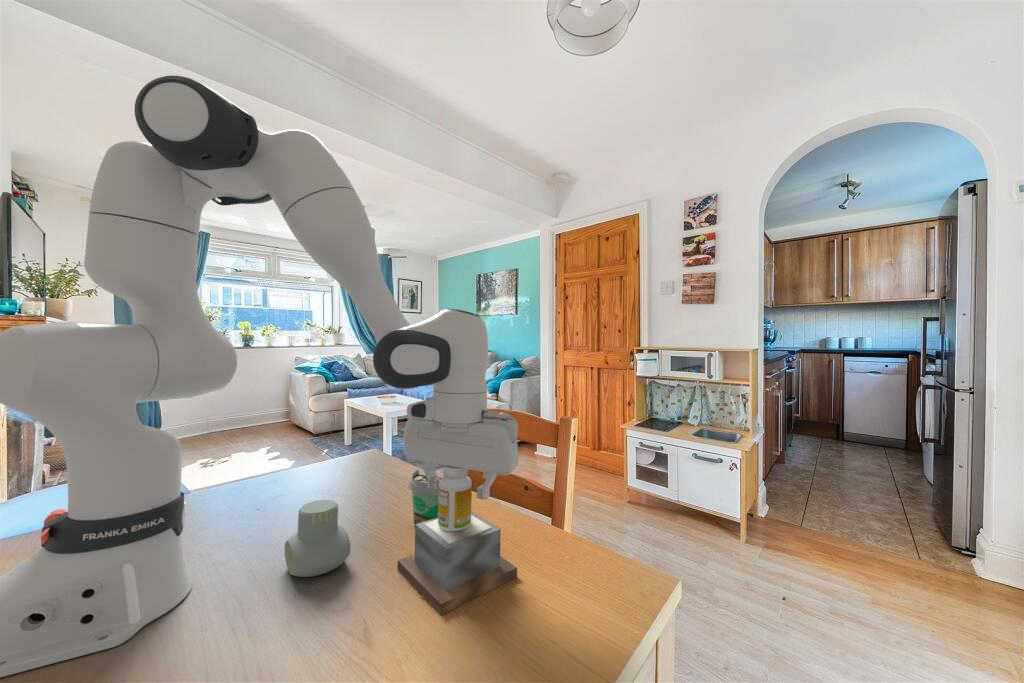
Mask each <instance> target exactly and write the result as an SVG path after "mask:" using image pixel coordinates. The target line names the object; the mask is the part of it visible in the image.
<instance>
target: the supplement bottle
mask: <svg viewBox="0 0 1024 683" xmlns="http://www.w3.org/2000/svg"><path fill="white" fill-rule="evenodd" d="M442 471H443V475H444V476H443V477H441V478H442V479H441V480H440V482H439V500H438V526H439V527H440V528H441V529H442V530H444V531H449V532H456V531H461V530H464V529H466V528H468V527H469V526H470V524H471V512H472V494H473V492H472V491H473V487H472V486H473V484H472V479H471V478H470V477H469V476H468V474H469V469H464V468H458V467H453V466H447V465H443V470H442Z"/></svg>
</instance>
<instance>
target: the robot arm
mask: <svg viewBox="0 0 1024 683" xmlns="http://www.w3.org/2000/svg"><path fill="white" fill-rule="evenodd" d="M134 118H135V121H136V124H137V126H138V128H139V130H140V131H141V133H142V134H141V135H143V136H144V138H145V139H146V141H147V142H143V141H135V140H134V141H133V140H131V141H121V142H120V141H119V142H117V143H115V144H113V145H111V146H110V147H109V148H108V149H107V150H106V152H105V154H104V157H103V158H102V161H101V163H100V166H99V168H98V171H97V173H96V177H95V181H94V184H93V188H92V193H91V198H90V205H89V211H88V213H89V214H88V221H87V222H88V223H87V232H86V241H85V249H84V250H85V251H84V253H85V254H84V262H83V267H84V269H85V273H86V274H87V275H88V277H89V278H90V279H91V281H93V282H94V284H96V286H98V287H99V288H101V289H103V290H104V291H106V292H108V293H109V294H112V295H114V296H116V297H118V298H120V299H122V300H124V301H125V302H126V303H127V304H128V306H130V309H131V311H132V314H133V318H134V321H133V322H134V323H133V324H120V323H118V324H117V323H102V322H101V323H99V322H85V321H84V322H81V321H62V322H46V323H35V324H25V325H24V324H23V325H17V326H11V327H9V328H7V329H5V330H3V331H1V332H0V404H1V405H4V406H5V407H7V408H9V409H12V410H15V411H17V412H19V413H22V414H24V415H26V416H28V417H30V418H32V419H34V420H35V421H37V422H38V423H39V424H41V425H42V426H44V427H45V428H46V429H47V430H48V431H49V432H50V433H51V434H52V435H53V437H54V438H55V439H56V440H57V442H58V443H59V445H60V447H61V450H62V451H63V455H64V458H65V463H66V464H65V465H66V473H67V474H66V475H67V509H64V508H58V509H55V510H53V511H52V512H50V513H49V514H48V515H47V517H46V518H45V519H44V521H43V527H42V528H41V535H40V537H41V538H40V544H41V548H40V549H39V550H38V551H36V552H35V553H33V554H32V555H30V556H28V557H27V558H25V559H24V560H23V561H21V562H20V563H19V564H17V565H16V566H14V567H13V568H10V569H9V570H8V571H7V572H6V573H4V574H3V575H1V576H0V678H3V677H8V676H11V675H13V674H19V673H22V672H26V671H29V670H33V669H36V668H41V667H44V666H47V665H52V664H55V663H58V662H59V663H60V662H63V661H67V660H70V659H75V658H78V657H81V656H86V655H89V654H92V653H97V652H100V651H103V650H108V649H111V648H114V647H117V646H121V644H124V643H126V641H128V640H129V639H131V638H132V637H133V636H134V635H136V634H137V633H138V632H139V631H140V630H141V629H142V628H144V626H146V625H148V624H149V623H151V622H153V621H154V620H156V619H158V618H159V617H161V616H163V615H164V614H166V613H168V612H169V611H170V610H172V609H174V608H175V607H176V606H177V605H178V604H180V603H182V601H183V600H184V599H185V598H186V597H187V596H188V594H189V592H190V591H191V590H192V586H193V584H192V580H191V578H190V576H189V573H188V570H187V566H186V561H185V557H184V550H183V544H182V543H183V542H182V533H183V530H184V527H185V522H186V521H185V517H186V500H185V493H184V491H181V490H182V474H183V472H182V470H183V469H182V468H183V446H182V444H181V442H180V441H179V439H178V438H177V437H176V436H175V435H174V434H172V433H170V432H169V431H166V430H162V429H160V428H157V427H153V426H148V425H146V424H145V425H144V424H142V422H141V420H140V418H139V415H138V412H137V409H138V408H137V404H139V403H148V402H149V403H150V402H158V401H159V402H160V401H169V400H170V401H171V400H179V399H188V398H192V397H197V396H201V395H204V394H208V393H209V394H210V393H211V392H216V391H219V390H221V389H223V388H225V387H226V386H228V384H229V383H230V382H231V381H232V379H233V377H234V376H235V375H236V374H235V373H236V371H237V367H238V355H237V352H236V349H235V347H234V346H233V344H232V342H231V341H230V339H228V338H227V337H226V336H224V335H223V334H222V333H221V332H220V331H218V329H216V327H215V326H214V325H213V324H212V323H211V322H210V320H209V318H208V316H207V315H206V313H205V311H204V309H203V307H202V304H201V301H200V297H199V294H198V287H197V286H198V285H197V268H198V267H197V264H198V262H197V261H198V249H199V239H200V238H199V236H200V227H201V217H202V213H203V210H204V207H205V205H206V204H207V203H208V202H210V201H213V202H214V203H216V204H217V205H218V206H233V205H241V204H242V205H257V204H258V205H259V204H264V203H267V202H270V201H272V200H273V202H274V203H275V205H276V207H277V208H278V211H279V212H280V214H281V216H282V217H283V219H284V221H285V223H286V225H287V226H288V228H289V230H290V232H291V233H292V234H293V237H295V240H297V241H298V242H299V244H300V246H302V248H303V249H304V250H305V252H306V253H307V254H308V255H309V256H310V257H311V259H312V260H313V261H314V262H315V263H316V264H317V265H319V267H321V269H322V270H324V271H325V272H326V273H327V274H328V275H329V276H330V277H332V278H333V279H334V280H335V281H336V282H337V283H338V284H339V285H340V286H341V287H342V288H343V289H344V290H345V291H346V293H347V294H348V295H349V296H350V298H351V299H352V301H353V303H354V304H355V306H356V307H357V310H358V311H359V313H360V314H361V316H362V318H363V319H364V322H365V323H366V326H367V327H368V328H369V330H370V332H371V333H372V336H373V338H374V341H375V344H376V345H375V348H374V350H373V355H372V364H373V368H374V371H375V373H376V375H377V376H378V378H379V379H380V380H381V381H383V382H384V383H385V384H386V385H388V386H390V387H391V388H393V389H394V388H395V389H398V390H412V389H416V388H418V387H419V388H420V387H424V386H429V385H432V387H433V390H432V391H433V392H432V393H433V394H432V395H433V396H432V397H428V398H426V399H425V400H421V401H417V402H413V403H410V404H408V405H407V407H406V415H407V417H408V420H406V423H405V425H404V431H403V444H402V445H403V453H404V455H405V457H406V458H407V459H408V460H413V461H419V462H421V469H422V471H423V473H424V474H425V475H424V476H426V477H427V487H428V488H430V489H437V488H439V482H440V480H441V478H442V477H441V476H440V475H437V472H436V470H435V467H434V466H436V465H440V466H441V465H443V466H444V465H447V466H453V467H458V468H464V469H468V470H471V471H477V472H482V473H483V474H482V478H483V479H485V481H484V482H483V484H480V486H477V487H476V499H479V500H484V501H486V500H487V499H489V497H490V492H491V486H492V484H493V483H494V481H495V480H496V478H497V477H498V475H499V476H508V475H510V474H512V473H513V472H515V470H516V469H517V467H518V466H519V447H518V441H517V440H518V436H519V424H518V421H517V420H516V419H515V418H514V417H513V416H511V414H510V413H507V412H496V411H490V410H488V386H487V381H486V373H487V370H488V367H489V339H488V328H487V326H486V323H485V322H486V321H485V320H484V319H483V318H482V317H481V316H479V314H475V313H473V312H470V311H467V310H463V309H462V310H461V309H455V308H444V309H441V310H440V311H439V312H437V314H434V315H433V316H431V317H428V318H426V319H424V320H422V321H420V322H417V323H414V324H410V323H409V322H408V321H407V319H406V318H405V316H404V314H403V312H402V310H401V309H400V307H399V305H398V304H397V301H396V300H395V298H394V295H393V294H392V293H391V291H390V289H389V287H388V284H387V283H386V280H385V276H384V275H383V272H382V269H381V264H380V261H379V255H378V250H377V244H376V239H375V236H374V235H375V234H374V232H373V228H372V226H371V225H372V224H371V223H370V220H369V217H368V215H367V214H368V213H367V212H366V210H365V208H364V207H365V206H364V205H363V203H362V201H361V199H360V197H359V195H358V193H357V192H356V189H355V188H354V186H353V184H352V182H351V181H350V179H349V178H348V176H347V175H346V173H345V171H344V170H343V168H341V166H340V164H339V163H338V162H337V160H336V159H335V157H334V156H333V155H332V153H331V152H330V151H329V150H328V148H327V146H325V145H324V143H323V142H322V141H321V140H320V139H319V138H318V137H317V136H315V135H314V134H312V133H310V132H307V131H305V130H301V129H285V130H281V131H278V132H275V133H269V132H266V131H263V130H262V129H260V128H259V127H258V125H257V122H256V119H255V117H254V116H252V115H251V114H249V113H248V112H247V111H245V110H244V109H243V108H240V107H239V106H238V105H236V104H235V103H233V102H232V101H231V100H229V99H228V98H226V97H225V96H224V95H222V94H220V93H219V92H217V91H216V90H214V89H213V88H211V87H209V86H207V85H205V84H203V82H199V81H197V80H195V79H192V78H190V77H188V76H187V77H185V76H181V75H164V76H160V77H157V78H155V79H152V80H151V81H149V82H148V83H146V84H145V85H143V87H142V88H141V89H140V90H139V92H138V94H137V96H136V99H135V103H134Z"/></svg>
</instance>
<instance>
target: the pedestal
mask: <svg viewBox="0 0 1024 683" xmlns="http://www.w3.org/2000/svg"><path fill="white" fill-rule="evenodd" d="M414 527H415V528H414V530H415V532H414V553H413V554H411V555H407V556H405V557H403V558H400V559H397V571H398V572H400V574H401V575H403V577H404V578H405V579H406V580H407V582H409V583H410V584H411V585H412V586H413V587H414V588H415V590H416V591H417V592H418V593H420V595H421V596H422V597H423V599H425V600H426V601H427V603H429V605H430V606H432V608H433V609H434V610H435V611H436V612H437V613H438V614H439V615H440V616H442V615H444V614H446V613H449V612H450V611H452V610H455V609H456V608H458V607H460V606H462V605H464V604H466V603H468V602H470V601H472V600H474V599H476V598H478V597H479V596H482V595H484V594H486V593H488V592H490V591H493V590H494V589H496V588H497V587H498V588H499V587H500V586H501V585H505V584H506V583H508V582H510V581H512V580H514V579H516V578H518V567H517V566H516V565H514V564H513V563H511V562H510V561H508V560H507V559H505V558H504V557H502V556H501V531H502V530H501V528H500V527H498V526H496V525H494V524H493V523H492V522H490V521H488V520H486V519H484V518H482V517H481V516H479V515H478V514H476V513H474V512H473V511H471V524H470V526H469V527H468V528H466V529H464V530H461V531H456V532H449V531H444V530H442V529H441V528H440V527H439V526H438V517H437V518H434V519H431V520H428V521H424V522H421V523H418V524H415V526H414Z"/></svg>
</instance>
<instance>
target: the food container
mask: <svg viewBox="0 0 1024 683" xmlns="http://www.w3.org/2000/svg"><path fill="white" fill-rule="evenodd" d="M419 470H420V469H417V470H414V472H412V473H411V476H410V479H409V482H408V483H409V484H408V488H409V490H410V491H411V494H412V495H411V496H412V510H413V513H412V514H413V525H414V524H418V523H421V522H424V521H428V520H431V519H434V518H437V517H438V500H439V488H437V489H430V488H428V487H427V477H426V475H424V474H420V471H419ZM442 478H443V477H441V479H442Z"/></svg>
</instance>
